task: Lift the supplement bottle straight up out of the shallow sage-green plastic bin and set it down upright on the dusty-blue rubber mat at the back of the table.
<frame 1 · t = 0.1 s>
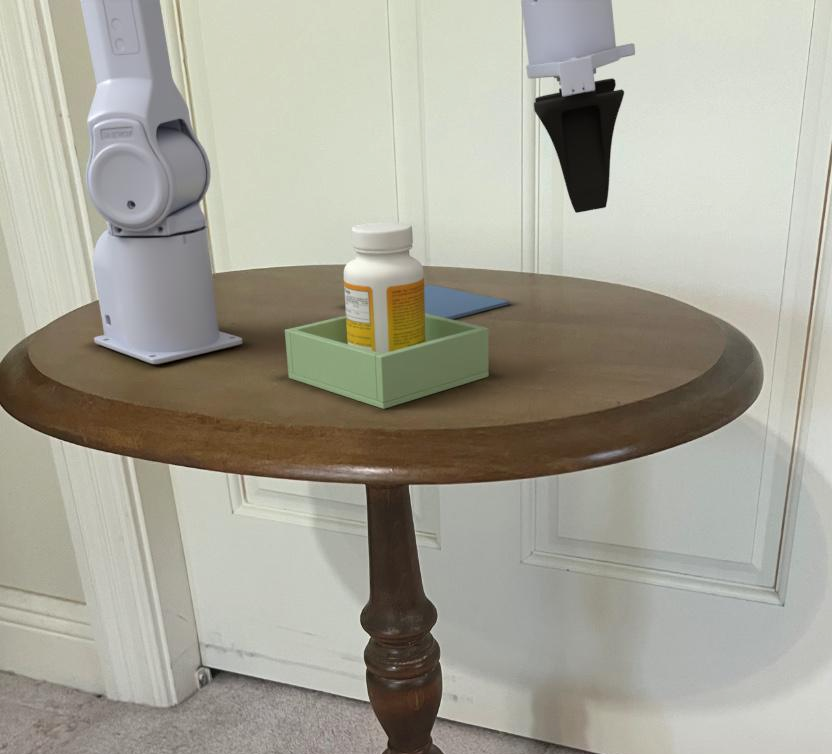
hand: (588, 201, 75), 11 cm above the table, tool pointing down, fingers open, 7 cm apart
mat: (428, 305, 94), on the table
supplement bottle: (387, 374, 76), resting on bin
bin: (388, 377, 76), on the table
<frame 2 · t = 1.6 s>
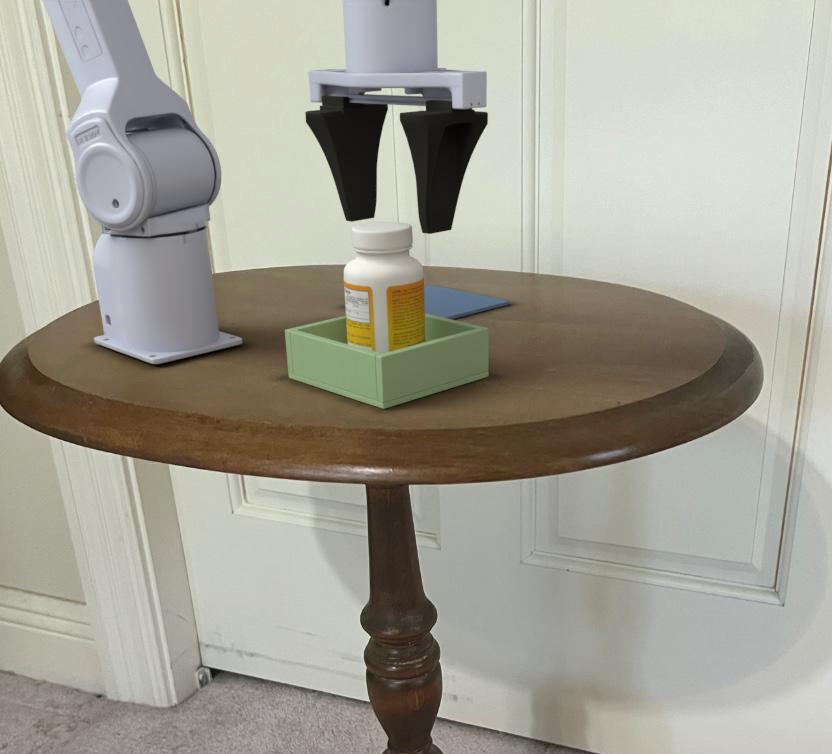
hand: (397, 225, 72), 10 cm above the table, tool pointing down, fingers open, 7 cm apart
nothing on the table moved.
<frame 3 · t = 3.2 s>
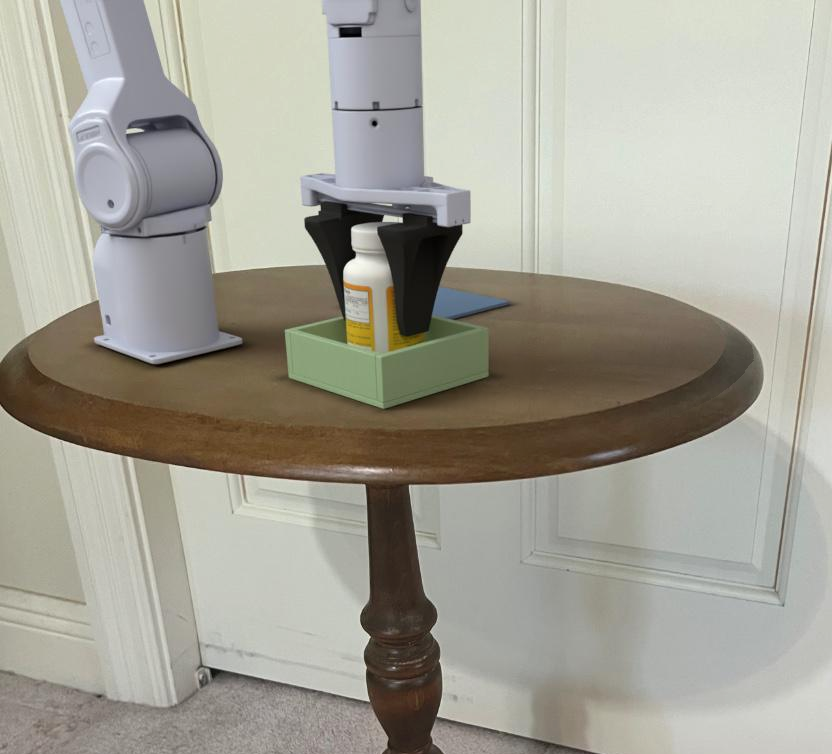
hand: (385, 325, 74), 4 cm above the table, tool pointing down, fingers closed on supplement bottle, 5 cm apart
supplement bottle: (387, 374, 76), resting on bin, touching gripper
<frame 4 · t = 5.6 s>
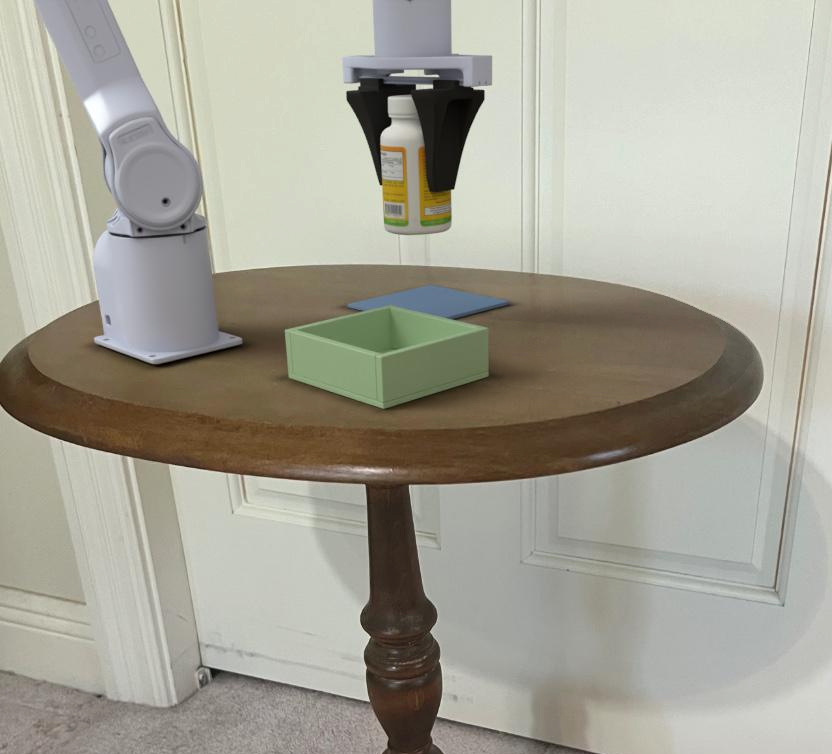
hand: (416, 187, 85), 10 cm above the table, tool pointing down, fingers closed on supplement bottle, 5 cm apart
supplement bottle: (418, 232, 86), point 7 cm above the table, touching gripper
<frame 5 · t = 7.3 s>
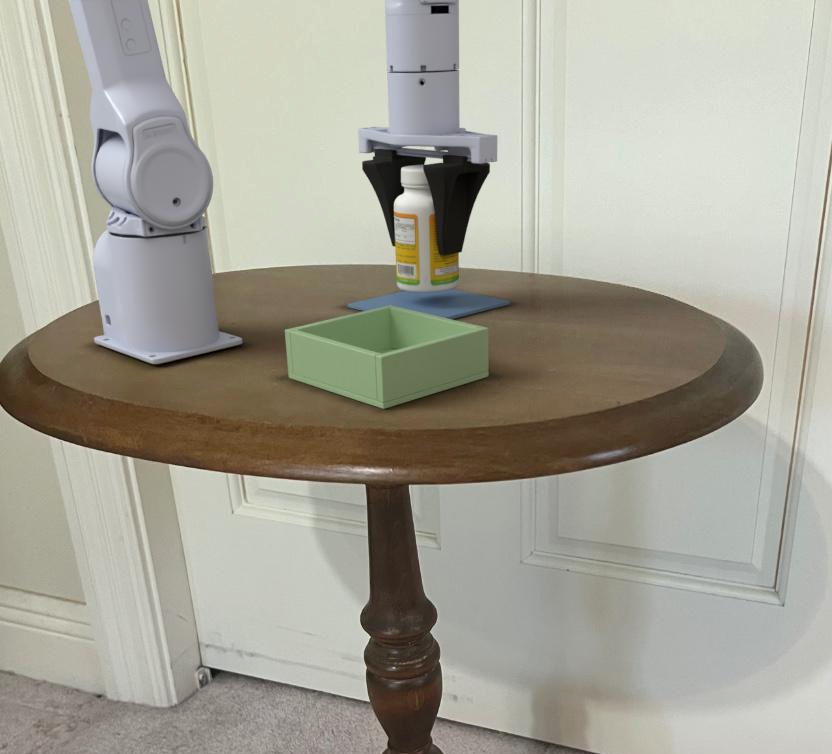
hand: (426, 249, 92), 5 cm above the table, tool pointing down, fingers closed on supplement bottle, 5 cm apart
supplement bottle: (427, 289, 94), point 1 cm above the table, touching gripper
when the fingers open (3 cm above the table, at t = 8.3 s): supplement bottle stays where it is, resting on mat.
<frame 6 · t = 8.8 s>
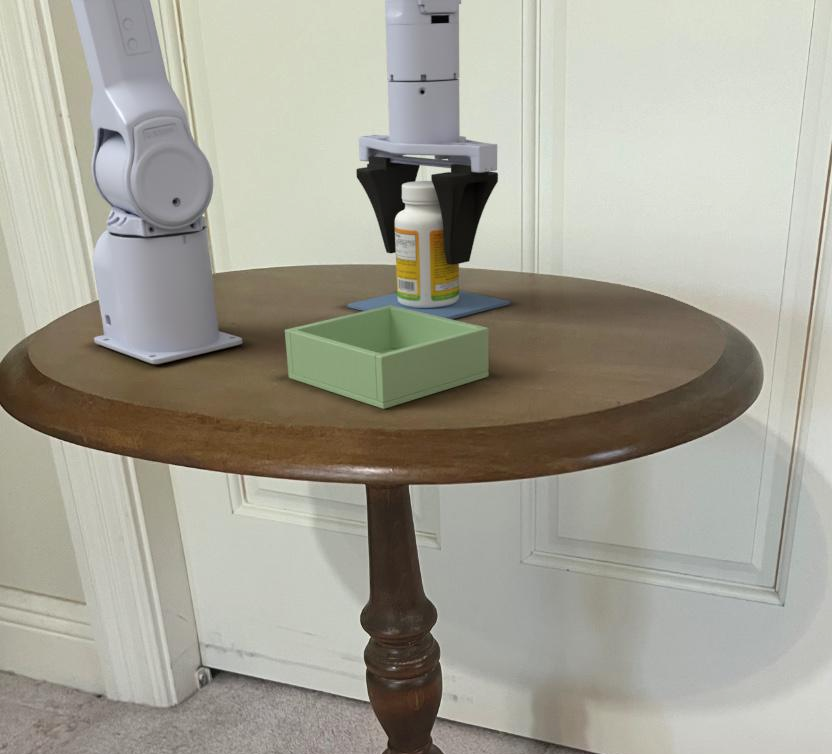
hand: (427, 256, 92), 4 cm above the table, tool pointing down, fingers open, 7 cm apart
supplement bottle: (428, 304, 94), resting on mat
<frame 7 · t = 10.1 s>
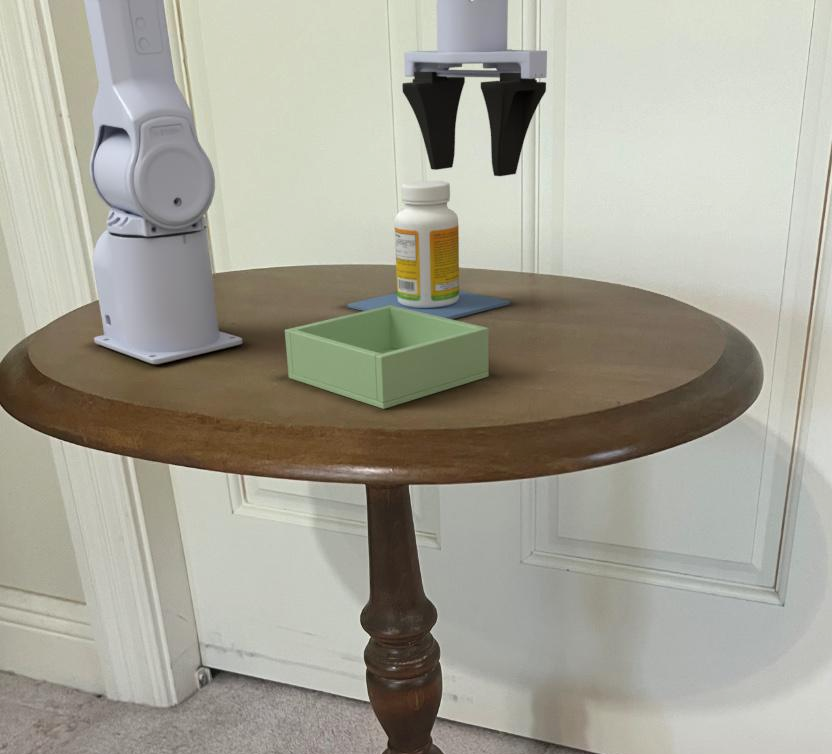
hand: (472, 171, 93), 10 cm above the table, tool pointing down, fingers open, 7 cm apart
nothing on the table moved.
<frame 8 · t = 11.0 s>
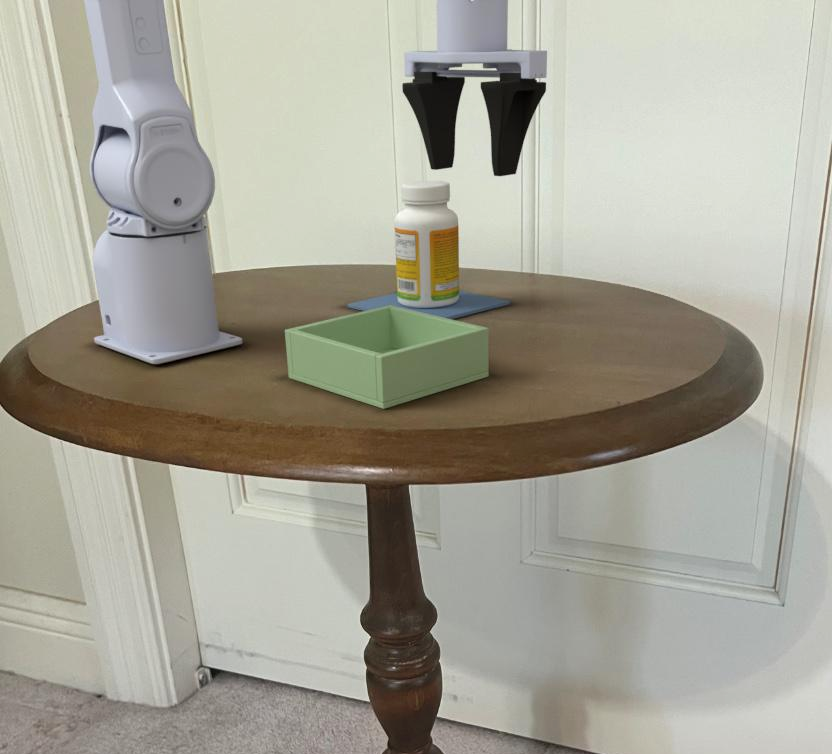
hand: (472, 171, 93), 10 cm above the table, tool pointing down, fingers open, 7 cm apart
nothing on the table moved.
at the end: supplement bottle 0.0 cm off-centre on the mat, point 0.1 cm above the mat's base; supplement bottle tilted 0°; supplement bottle touching mat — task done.
